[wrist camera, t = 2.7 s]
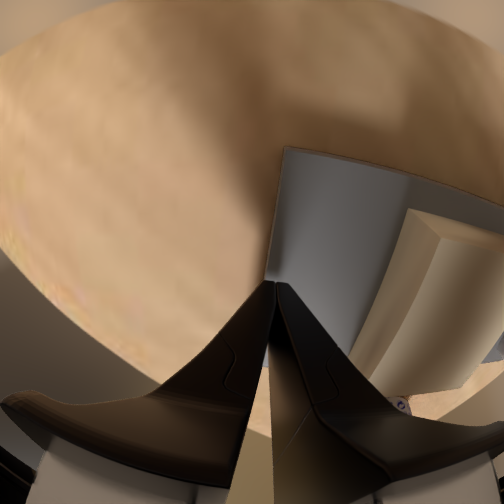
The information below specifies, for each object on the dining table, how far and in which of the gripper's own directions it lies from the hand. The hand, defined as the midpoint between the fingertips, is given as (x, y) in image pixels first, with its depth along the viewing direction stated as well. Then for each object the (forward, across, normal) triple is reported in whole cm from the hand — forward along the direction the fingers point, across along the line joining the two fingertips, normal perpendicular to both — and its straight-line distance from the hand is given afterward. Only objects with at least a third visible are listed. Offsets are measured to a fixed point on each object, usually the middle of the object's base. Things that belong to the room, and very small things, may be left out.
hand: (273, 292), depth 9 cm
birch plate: (0, -7, 0) cm, 7 cm away
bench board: (+2, -8, 0) cm, 9 cm away
